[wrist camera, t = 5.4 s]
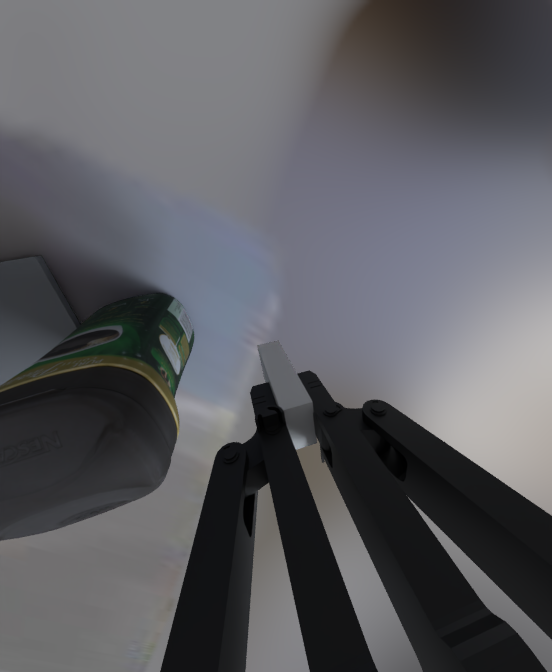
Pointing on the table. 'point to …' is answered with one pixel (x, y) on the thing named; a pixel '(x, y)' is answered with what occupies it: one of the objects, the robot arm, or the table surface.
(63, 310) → the rubber mat
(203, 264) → the table surface
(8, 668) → the table surface
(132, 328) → the coffee jar
